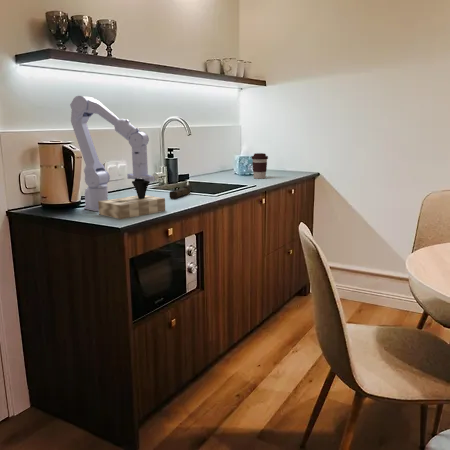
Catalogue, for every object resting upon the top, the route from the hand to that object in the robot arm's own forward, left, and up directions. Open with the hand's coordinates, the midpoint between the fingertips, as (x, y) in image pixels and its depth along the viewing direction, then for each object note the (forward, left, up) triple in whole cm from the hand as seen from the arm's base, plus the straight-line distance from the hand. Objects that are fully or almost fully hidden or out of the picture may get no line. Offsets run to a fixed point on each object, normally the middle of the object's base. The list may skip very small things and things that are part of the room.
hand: (141, 198), depth 184 cm
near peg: (0, -9, -4) cm, 10 cm away
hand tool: (-17, +36, -5) cm, 40 cm away
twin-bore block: (0, -5, -5) cm, 7 cm away
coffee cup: (-31, +114, -5) cm, 118 cm away
